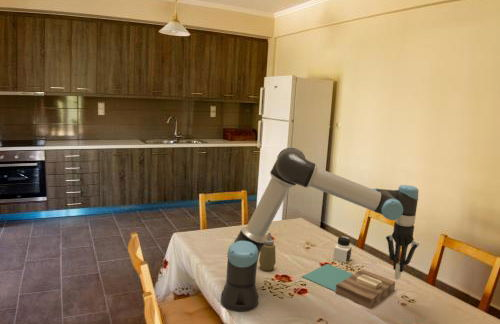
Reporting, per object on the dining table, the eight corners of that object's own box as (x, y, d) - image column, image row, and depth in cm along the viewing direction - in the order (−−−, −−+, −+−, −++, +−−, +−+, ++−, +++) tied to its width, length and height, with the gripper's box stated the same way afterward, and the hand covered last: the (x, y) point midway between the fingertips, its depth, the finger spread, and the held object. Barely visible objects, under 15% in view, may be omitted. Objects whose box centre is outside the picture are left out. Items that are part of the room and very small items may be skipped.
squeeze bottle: (273, 273, 182) (276, 236, 179) (257, 270, 184) (259, 234, 181) (276, 266, 190) (279, 231, 187) (260, 263, 192) (262, 229, 189)
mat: (335, 292, 168) (335, 291, 168) (301, 277, 180) (301, 276, 180) (359, 277, 184) (359, 276, 184) (327, 264, 196) (327, 263, 196)
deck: (370, 308, 157) (371, 299, 156) (335, 293, 167) (336, 284, 167) (394, 289, 174) (395, 281, 174) (361, 277, 185) (362, 269, 184)
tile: (375, 290, 164) (375, 285, 164) (356, 282, 170) (356, 277, 170) (381, 285, 169) (382, 281, 168) (362, 278, 175) (362, 274, 174)
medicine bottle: (346, 263, 199) (348, 241, 197) (332, 259, 203) (335, 238, 201) (350, 259, 205) (353, 237, 203) (337, 255, 209) (339, 234, 207)
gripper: (424, 225, 155) (416, 280, 159) (392, 217, 164) (386, 270, 168) (417, 229, 150) (409, 286, 154) (384, 221, 158) (378, 275, 162)
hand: (397, 277), depth 161 cm, fingers closed
